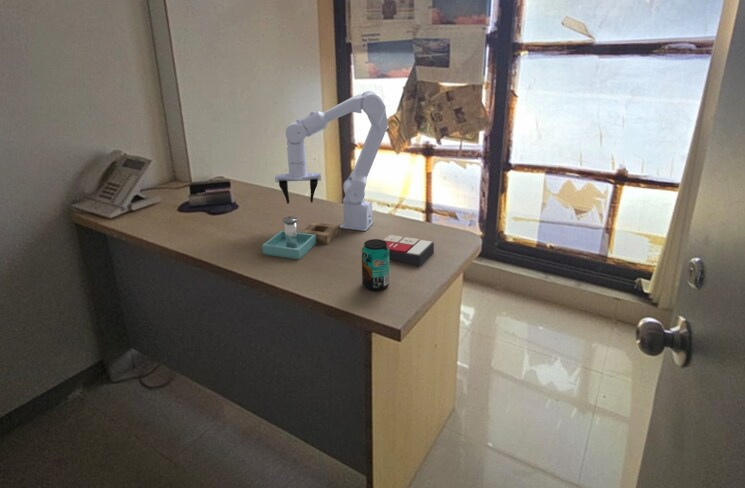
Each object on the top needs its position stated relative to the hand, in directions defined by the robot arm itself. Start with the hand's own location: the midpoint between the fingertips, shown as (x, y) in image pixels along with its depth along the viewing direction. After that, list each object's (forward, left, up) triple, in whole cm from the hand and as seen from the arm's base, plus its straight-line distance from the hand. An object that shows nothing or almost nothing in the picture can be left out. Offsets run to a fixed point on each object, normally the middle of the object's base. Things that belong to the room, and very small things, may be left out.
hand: (299, 202), depth 160 cm
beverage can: (-36, +30, -10) cm, 48 cm away
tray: (-4, +16, -9) cm, 19 cm away
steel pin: (-4, +16, -9) cm, 18 cm away
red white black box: (-38, +9, -10) cm, 40 cm away
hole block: (-9, +5, -9) cm, 14 cm away
